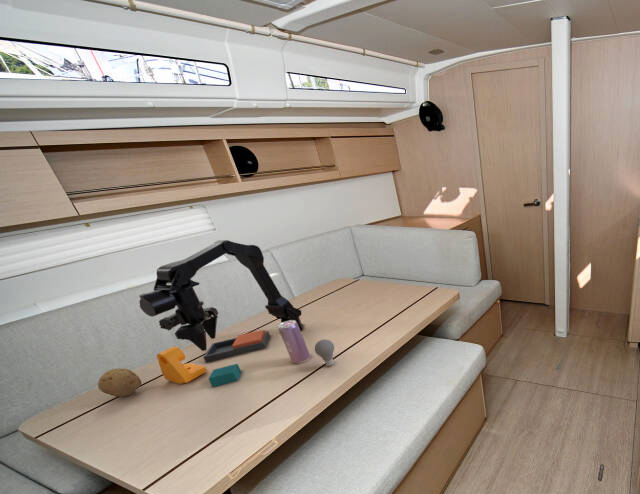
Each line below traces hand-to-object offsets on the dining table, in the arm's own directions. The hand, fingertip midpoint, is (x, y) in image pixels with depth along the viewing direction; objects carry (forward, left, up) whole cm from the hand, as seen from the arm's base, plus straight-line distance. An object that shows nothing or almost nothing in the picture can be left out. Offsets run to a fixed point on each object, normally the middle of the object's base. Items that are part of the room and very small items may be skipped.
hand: (209, 344), depth 120 cm
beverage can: (-25, +6, -12) cm, 29 cm away
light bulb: (-35, +16, -12) cm, 40 cm away
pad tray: (-1, -18, -12) cm, 22 cm away
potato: (+28, -2, -12) cm, 30 cm away
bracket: (+12, -4, -12) cm, 18 cm away
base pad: (-6, -18, -11) cm, 22 cm away
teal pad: (-2, +6, -12) cm, 13 cm away
